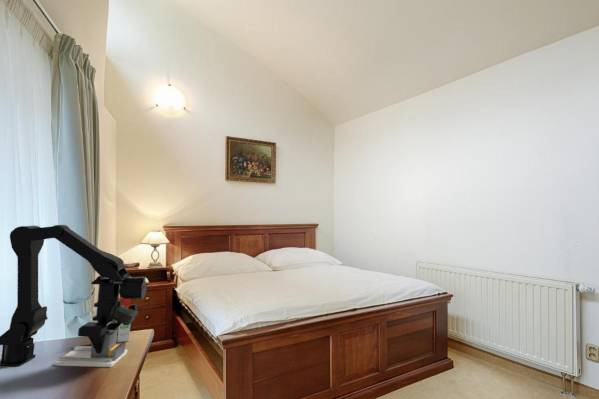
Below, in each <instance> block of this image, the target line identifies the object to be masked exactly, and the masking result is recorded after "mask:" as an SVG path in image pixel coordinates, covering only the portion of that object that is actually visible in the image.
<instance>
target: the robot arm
mask: <svg viewBox="0 0 599 399" xmlns="http://www.w3.org/2000/svg"><path fill="white" fill-rule="evenodd" d="M9 239H10V240H9V241H10V246H11V249H12V251H13V252H14V253H15V256H16V257H17V278H16V279H17V285H16V286H17V291H16V292H17V293H16V294H17V297H16V298H17V305H16V307H15V310H14V312H13V314H12V316H11V319H10V324H9V328H8V329H7V330H6V331H5V332H3V333H2V334H1V335H0V346H2V349H1V359H0V366H7V367H8V366H11V367H12V366H13V367H18V366H21V365H23V364H25V363H27V362H28V361H29V362H30V360H33V359H34V358H35V357H36V356H37V355H36V354H35V353H34V352H35V343H34V337H33V336H35V335H37V333H38V331H39V330H40V329H41V328H43V327H44V325H45V323H46V321H47V320H48V316H47V312H48V307H47V306H46V305H45V306H41V304H40V302H39V254H40V253H41V250H42V249H43V246H44V243H45V240H49V239H56V240H57V241H59V242H60V243H61V244H63V245H65V247H67V248H69V249H70V250H71V251H73V252H74V253H76V254H77V255H79V256H80V257H81V258H83V259H85V260H86V261H87V262H88V263H89V264H90V266H91V268H92V269H93V271H95V272H96V273H97V274H98V276H97V277H96V278H95V279H94V280H93V281H91V282H90V284H91V285H98V290H97V291H98V292H97V293H98V294H97V302H94V304H93V307H94V308H96V311H95V312H96V313H95V315H94V316H92V321H88V322H86V323H84V324H83V325H81V326H80V327H79V328H78V331H77V337H82V338H83V337H84V338H86V337H87V338H88V339H89V341H90V343H91V346H92V345H93V347H94V349H95V351H96V353H97V354H100V353H101V351H102V348H103V343H104V339H105V336H106V335H107V334H108V333H109V332H110V331H107V330H117V328H118V327H119V326H120V325H121V324H122V323H123V324H124V325H129V324H130V325H131V324H133V323H134V321H135V318H136V317H137V316H138V315H139V310H138V304H135V303H132V304H130V306H129V307H128V306H126V307H124V306H122V302H123V300H119V298H123V299H131V300H143V299H145V296H146V293H147V287H148V286H147V282H146V277H145V276H131V275H130V273H129V272H128V271H127V268H126V267H125V264H124V260H123V259H122V258H121V257H119V256H117V255H114V254H113V253H111V252H110V253H109V252H106V251H104V250H102V249H99V248H98V247H97V246H95V245H94V244H92V243H91V242H89V241H88V240H87V239H85V238H84V237H82V236H80V234H78V233H77V232H75V231H74V230H72V229H71V228H70V227H69V226H68V225H66V224H57V225H56V224H54V225H52V226H44V227H43V226H42V227H41V226H39V225H23V226H21V225H20V226H17V227H15V228H13V230H12V231H10V233H9Z"/></svg>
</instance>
